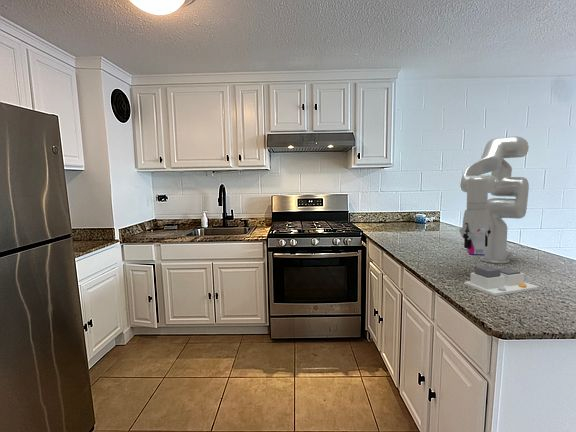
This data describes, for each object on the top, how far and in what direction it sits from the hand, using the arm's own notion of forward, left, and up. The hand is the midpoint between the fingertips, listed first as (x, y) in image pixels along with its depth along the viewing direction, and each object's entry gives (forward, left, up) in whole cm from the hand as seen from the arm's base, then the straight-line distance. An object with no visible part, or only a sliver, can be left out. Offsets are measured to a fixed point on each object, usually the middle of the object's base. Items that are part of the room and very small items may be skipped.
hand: (475, 246), depth 137 cm
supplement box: (0, 0, -3) cm, 3 cm away
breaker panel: (+1, +13, -13) cm, 19 cm away
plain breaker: (+6, +12, -10) cm, 17 cm away
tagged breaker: (-4, +12, -12) cm, 17 cm away
